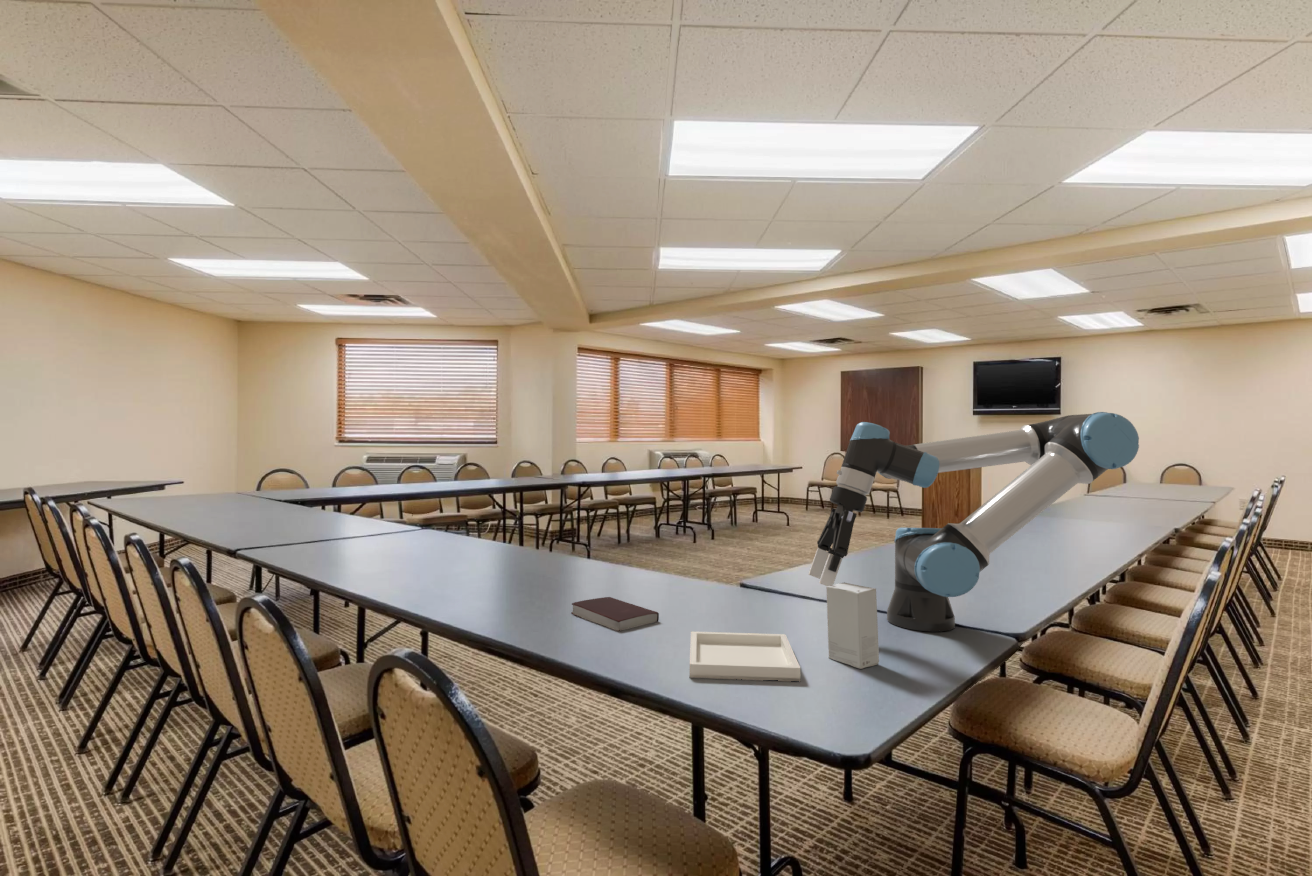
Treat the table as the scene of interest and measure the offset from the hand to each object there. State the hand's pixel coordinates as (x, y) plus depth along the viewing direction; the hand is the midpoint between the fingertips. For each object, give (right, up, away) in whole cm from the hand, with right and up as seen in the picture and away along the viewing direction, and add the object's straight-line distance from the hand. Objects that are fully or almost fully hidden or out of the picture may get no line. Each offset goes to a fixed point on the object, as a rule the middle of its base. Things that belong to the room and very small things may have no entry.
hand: (819, 581), depth 140 cm
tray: (-19, -12, -15) cm, 27 cm away
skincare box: (+3, -13, -14) cm, 19 cm away
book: (-46, -13, +15) cm, 51 cm away
